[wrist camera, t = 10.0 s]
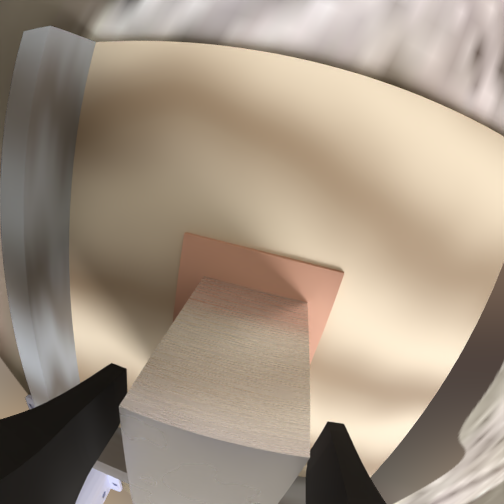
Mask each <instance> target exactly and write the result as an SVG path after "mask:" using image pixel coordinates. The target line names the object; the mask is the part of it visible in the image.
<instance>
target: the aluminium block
mask: <svg viewBox="0 0 504 504" xmlns="http://www.w3.org/2000/svg"><path fill="white" fill-rule="evenodd" d="M119 414H120V424H121V433H122V441H123V448H124V456H125V462H126V469H127V475H128V481H129V486H130V492H131V497H132V502H133V504H278V503H279V501H280V500H281V499H282V497H283V496H284V495H285V493H286V492H287V490H288V489H289V488H290V486H291V485H292V483H293V482H294V481H295V479H296V478H297V476H298V475H299V473H300V472H301V471H302V469H303V468H304V466H305V465H306V463H307V462H308V460H309V459H310V360H309V328H308V304H307V302H305V301H300V300H296V299H292V298H288V297H284V296H280V295H276V294H272V293H268V292H264V291H260V290H256V289H252V288H248V287H244V286H240V285H236V284H233V283H229V282H225V281H221V280H217V279H213V278H210V277H206V276H204V277H203V278H202V280H201V281H200V283H199V284H198V286H197V287H196V289H195V290H194V292H193V293H192V295H191V296H190V298H189V299H188V301H187V302H186V304H185V305H184V307H183V308H182V310H181V311H180V313H179V314H178V316H177V317H176V319H175V320H174V322H173V323H172V325H171V326H170V328H169V329H168V331H167V332H166V334H165V335H164V337H163V339H162V340H161V342H160V343H159V345H158V346H157V348H156V349H155V351H154V352H153V354H152V355H151V357H150V358H149V360H148V362H147V363H146V365H145V366H144V368H143V369H142V371H141V372H140V374H139V375H138V377H137V379H136V380H135V382H134V383H133V385H132V386H131V388H130V390H129V391H128V393H127V394H126V396H125V397H124V399H123V401H122V402H121V404H120V405H119Z"/></svg>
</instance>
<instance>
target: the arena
mask: <svg viewBox="0 0 504 504" xmlns="http://www.w3.org/2000/svg"><path fill="white" fill-rule="evenodd" d="M0 217H1V239H2V252H3V263H4V272H5V280H6V288H7V295H8V301H9V307H10V313H11V318H12V323H13V328H14V333H15V337H16V342H17V346H18V350H19V354H20V358H21V362H22V366H23V369H24V373H25V376H26V380H27V383H28V386H29V390H30V393H31V396H32V399H33V402H34V405H35V407H37V406H39V405H41V404H43V403H46V402H47V401H49V400H51V399H53V398H55V397H57V396H59V395H61V394H63V393H64V392H66V391H68V390H70V389H71V388H73V387H75V386H76V385H78V384H80V383H81V382H83V381H84V380H86V379H87V378H89V377H91V376H92V375H94V374H95V373H97V372H98V371H100V370H101V369H103V368H104V367H106V366H107V365H109V364H111V363H113V364H116V365H118V366H121V367H124V368H126V369H127V391H129V390H130V388H131V386H132V385H133V383H134V382H135V380H136V379H137V377H138V375H139V374H140V372H141V371H142V369H143V368H144V366H145V365H146V363H147V362H148V360H149V358H150V357H151V355H152V354H153V352H154V351H155V349H156V348H157V346H158V345H159V343H160V342H161V340H162V339H163V337H164V335H165V334H166V332H167V331H168V329H169V328H170V326H171V325H172V323H173V322H174V320H175V319H176V317H177V316H178V314H179V313H180V311H181V310H182V308H183V307H184V305H185V304H186V302H187V301H188V299H189V298H190V296H191V295H192V293H193V292H194V290H195V289H196V287H197V286H198V284H199V283H200V281H201V280H202V278H203V277H204V276H206V277H210V278H213V279H217V280H221V281H225V282H229V283H233V284H236V285H240V286H244V287H248V288H252V289H256V290H260V291H264V292H268V293H272V294H276V295H280V296H284V297H288V298H292V299H296V300H300V301H305V302H307V304H308V328H309V360H310V450H311V448H312V447H313V445H314V443H315V442H316V440H317V438H318V437H319V435H320V433H321V432H322V430H323V428H324V427H325V425H326V423H327V422H328V421H329V422H336V423H343V424H344V425H345V427H346V429H347V431H348V433H349V435H350V438H351V440H352V442H353V444H354V446H355V449H356V451H357V453H358V455H359V457H360V459H361V461H362V463H363V465H364V467H365V469H366V471H367V473H368V474H369V476H370V477H371V476H372V475H373V474H374V472H375V471H376V470H377V469H378V468H379V467H380V466H381V465H382V463H383V462H384V461H385V460H386V459H387V458H388V456H389V455H390V454H391V453H392V452H393V450H394V449H395V448H396V447H397V446H398V444H399V443H400V442H401V441H402V439H403V438H404V437H405V436H406V434H407V433H408V432H409V430H410V429H411V428H412V426H413V425H414V424H415V422H416V421H417V420H418V418H419V417H420V416H421V414H422V413H423V411H424V410H425V409H426V407H427V406H428V404H429V403H430V401H431V400H432V398H433V397H434V396H435V394H436V393H437V391H438V390H439V388H440V386H441V385H442V383H443V382H444V380H445V379H446V377H447V375H448V374H449V372H450V370H451V369H452V367H453V365H454V364H455V362H456V360H457V359H458V357H459V355H460V353H461V351H462V350H463V348H464V346H465V345H466V343H467V341H468V339H469V337H470V335H471V333H472V331H473V329H474V328H475V326H476V324H477V321H478V320H479V318H480V316H481V313H482V311H483V309H484V307H485V305H486V303H487V301H488V298H489V296H490V294H491V292H492V289H493V287H494V285H495V282H496V280H497V278H498V275H499V273H500V270H501V268H502V265H503V263H504V136H502V135H501V134H499V133H497V132H495V131H493V130H492V129H490V128H488V127H486V126H484V125H482V124H480V123H478V122H476V121H474V120H472V119H471V118H468V117H466V116H464V115H462V114H460V113H458V112H456V111H454V110H452V109H450V108H447V107H445V106H443V105H441V104H438V103H436V102H434V101H431V100H429V99H427V98H424V97H422V96H419V95H417V94H414V93H412V92H409V91H407V90H404V89H401V88H399V87H396V86H393V85H390V84H388V83H385V82H382V81H379V80H376V79H373V78H370V77H367V76H363V75H360V74H357V73H354V72H350V71H347V70H343V69H340V68H336V67H332V66H329V65H325V64H321V63H317V62H313V61H308V60H304V59H299V58H295V57H290V56H285V55H280V54H275V53H269V52H264V51H258V50H251V49H245V48H237V47H230V46H221V45H212V44H201V43H189V42H171V41H106V42H95V41H92V40H89V39H87V38H84V37H81V36H79V35H76V34H73V33H70V32H68V31H65V30H62V29H59V28H56V27H53V26H46V27H41V28H36V29H32V30H27V31H24V33H23V36H22V40H21V43H20V47H19V51H18V55H17V59H16V63H15V67H14V72H13V77H12V82H11V87H10V92H9V98H8V104H7V111H6V118H5V126H4V135H3V146H2V159H1V181H0ZM92 468H94V469H96V470H98V471H100V472H103V473H105V474H107V475H109V476H112V477H114V478H116V479H119V480H121V481H123V482H126V483H128V484H129V481H128V475H127V469H126V462H125V456H124V448H123V441H122V433H121V424H119V426H118V428H117V430H116V431H115V433H114V435H113V436H112V438H111V439H110V441H109V442H108V444H107V446H106V447H105V449H104V450H103V452H102V453H101V455H100V456H99V458H98V460H97V461H96V463H95V464H94V466H93V467H92ZM306 469H307V463H306V465H305V466H304V468H303V469H302V471H301V472H300V473H299V475H298V476H297V478H296V479H295V481H294V482H293V483H292V485H291V486H290V488H289V489H288V490H287V492H286V493H285V495H284V496H283V497H282V499H281V500H280V501H279V503H278V504H306Z"/></svg>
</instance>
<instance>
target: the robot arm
mask: <svg viewBox="0 0 504 504" xmlns="http://www.w3.org/2000/svg"><path fill="white" fill-rule="evenodd" d="M127 393H128V391H127V369H126V368H124V367H121V366H118V365H116V364H113V363H111V364H109V365H107V366H106V367H104V368H103V369H101V370H100V371H98V372H97V373H95V374H94V375H92V376H91V377H89V378H87V379H86V380H84V381H83V382H81V383H80V384H78V385H76V386H75V387H73V388H71V389H70V390H68V391H66V392H64V393H63V394H61V395H59V396H57V397H55V398H53V399H51V400H49V401H47V402H46V403H43V404H41V405H39V406H37V407H35V405H34V402H33V399H32V396H31V395H27V396H26V401H27V404H28V407H29V410H28V411H25V412H22V413H19V414H16V415H13V416H10V417H7V418H4V419H0V504H103V503H104V501H105V499H106V496H107V495H108V493H109V491H110V489H114V490H116V491H119V492H120V491H121V490H122V484H121V480H119V479H116V478H114V477H112V476H109V475H107V474H105V473H103V472H100V471H98V470H96V469H94V468H92V467H93V466H94V464H95V463H96V461H97V460H98V458H99V456H100V455H101V453H102V452H103V450H104V449H105V447H106V446H107V444H108V442H109V441H110V439H111V438H112V436H113V435H114V433H115V431H116V430H117V428H118V426H119V424H120V414H119V405H120V404H121V402H122V401H123V399H124V397H125V396H126V394H127ZM306 504H386V503H385V501H384V500H383V498H382V497H381V495H380V493H379V492H378V490H377V489H376V487H375V485H374V484H373V482H372V480H371V478H370V476H369V474H368V473H367V471H366V469H365V467H364V465H363V463H362V461H361V459H360V457H359V455H358V453H357V451H356V449H355V446H354V444H353V442H352V440H351V438H350V435H349V433H348V431H347V429H346V427H345V425H344V424H343V423H336V422H329V421H328V422H327V423H326V425H325V427H324V428H323V430H322V432H321V433H320V435H319V437H318V438H317V440H316V442H315V443H314V445H313V447H312V448H311V450H310V459H309V460H308V462H307V469H306Z"/></svg>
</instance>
